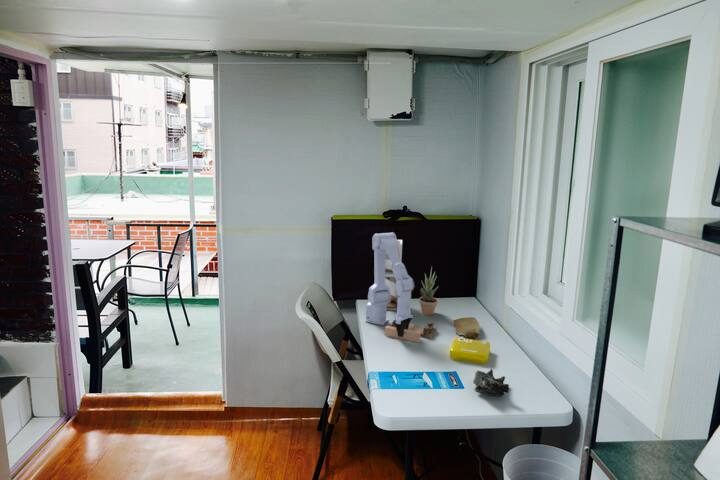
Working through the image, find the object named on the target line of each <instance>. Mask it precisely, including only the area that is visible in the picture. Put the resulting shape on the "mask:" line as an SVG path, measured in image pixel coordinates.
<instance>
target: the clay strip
mask: <svg viewBox="0 0 720 480" xmlns="http://www.w3.org/2000/svg"><path fill="white" fill-rule="evenodd" d="M384 336H387V337H392V338H395V339H402V340H405V341H411V342H415V343H420V342H421V340H422V339H421V332H417V331H412V330H407V329H404V335H403V337H399V336H398V334H397V329H396V327H392V326H391V325H386V326H385V327H384Z"/></svg>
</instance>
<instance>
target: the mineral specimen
mask: <svg viewBox="0 0 720 480" xmlns="http://www.w3.org/2000/svg"><path fill="white" fill-rule="evenodd" d="M474 376H475V377H474V378H473V384H474V385H475V388H474V391H476V392H481V393H484V394H486V395H487V396H498V397H503V395H505V394H507V393H508V394H509V390H510V385H509V384H507V383H504V382H505V380H506V376H505V375H502V376H501V377H498V378H495V376H494V369H492V368H490V369H489V371H487V372H486V373H485V372H484V371H481V370H476V371H475V374H474Z"/></svg>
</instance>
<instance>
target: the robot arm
mask: <svg viewBox="0 0 720 480" xmlns="http://www.w3.org/2000/svg"><path fill="white" fill-rule="evenodd" d="M371 238H372V241H371V243H372V250H373V251H374V252H373V255H374V256H373V257H374V260H373V261H374V267H373V268H374V270H373V273H374V283H373V284H372V285H371V286H370V287H369V288H368V294H367V300H368V302H367V304H366V307H365V320H364V321H365V322H366V323H370V324H376V325H382V326H384V325H385V324H386V323H387V322H388V321H389V320H390V319H389V318H387V310H386V308H387V304H388V302H389V301H390V299H391V294H390V288H389V287H388V286H387V285H386V284H385V251H387V253H388V256H389V258H390V260H391V262H392V264H393V267H392V271H393V273H394V276H395V279H396V281H397V282H396V289H397V295H398V304H397V311H396V318H395V319H394V320H395V321H394V320H393V321H394V324H395V326H396V329H397V334H398V336H399V337H403V335H404V329H407V330H408V327H409V324H411V321H412V319H413V315H412V314H411V313H412V312H411V300H412V291H414V288H415V282H414V279H413V278H412V277H411V276H410V275H409V273H408V270H407V268H406V266H405V264H404V263H403V262H402V261H401V262H400V259H399V256H398V252H397V249H396V244H397V240H398V239H397V235H396V234H395V232H393V231H392V232H381V233H377V232H376V233H374V234H373V236H372V237H371Z"/></svg>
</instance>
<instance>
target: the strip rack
mask: <svg viewBox="0 0 720 480" xmlns="http://www.w3.org/2000/svg"><path fill="white" fill-rule="evenodd" d="M395 320H396V319H394V320H393V321H392V322H391V325H390V326H392V327H396V326H395V324H394V321H395ZM408 330H412V331H417V332H421V337H422V338H427V339H431V338H432V337H433V336H434V335H435V333H436V332H437V327H434V321H431V320H429V321H428V322H427V325H420V324H413V323H410V324H409V327H408Z"/></svg>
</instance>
